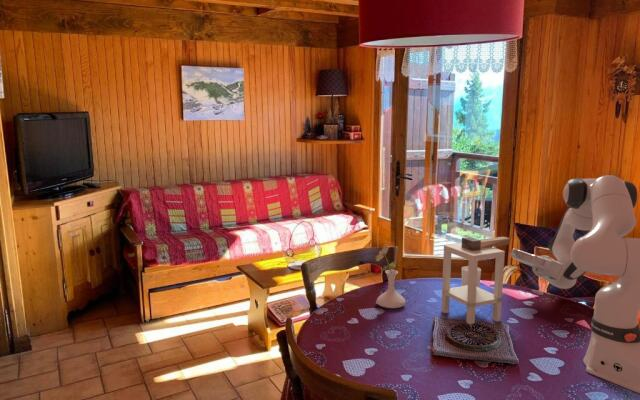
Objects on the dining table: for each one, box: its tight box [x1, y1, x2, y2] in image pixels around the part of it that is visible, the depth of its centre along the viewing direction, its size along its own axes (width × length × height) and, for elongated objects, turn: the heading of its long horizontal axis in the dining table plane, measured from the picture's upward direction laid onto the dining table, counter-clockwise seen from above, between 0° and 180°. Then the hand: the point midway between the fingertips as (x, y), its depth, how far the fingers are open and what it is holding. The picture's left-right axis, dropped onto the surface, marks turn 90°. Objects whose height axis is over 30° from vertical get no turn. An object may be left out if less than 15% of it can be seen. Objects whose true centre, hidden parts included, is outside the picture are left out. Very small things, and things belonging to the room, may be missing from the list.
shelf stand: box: [441, 242, 506, 324], centre depth 182 cm, size 16×14×26 cm
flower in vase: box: [375, 244, 407, 309], centre depth 192 cm, size 13×11×25 cm
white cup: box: [461, 265, 482, 288], centre depth 209 cm, size 8×8×10 cm
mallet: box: [461, 236, 511, 251], centre depth 182 cm, size 6×18×4 cm, turn 114°
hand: (522, 253), depth 190 cm, fingers open, 8 cm apart
